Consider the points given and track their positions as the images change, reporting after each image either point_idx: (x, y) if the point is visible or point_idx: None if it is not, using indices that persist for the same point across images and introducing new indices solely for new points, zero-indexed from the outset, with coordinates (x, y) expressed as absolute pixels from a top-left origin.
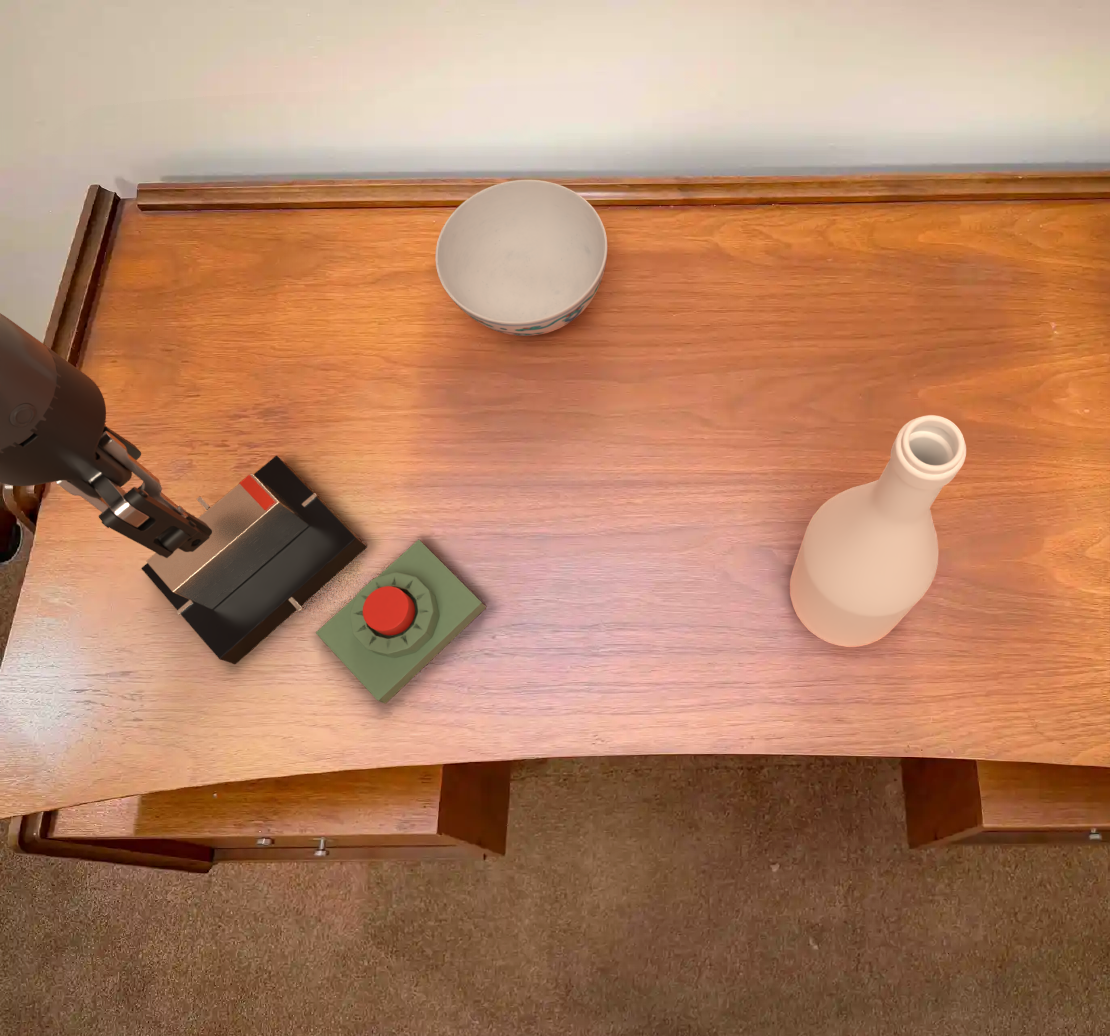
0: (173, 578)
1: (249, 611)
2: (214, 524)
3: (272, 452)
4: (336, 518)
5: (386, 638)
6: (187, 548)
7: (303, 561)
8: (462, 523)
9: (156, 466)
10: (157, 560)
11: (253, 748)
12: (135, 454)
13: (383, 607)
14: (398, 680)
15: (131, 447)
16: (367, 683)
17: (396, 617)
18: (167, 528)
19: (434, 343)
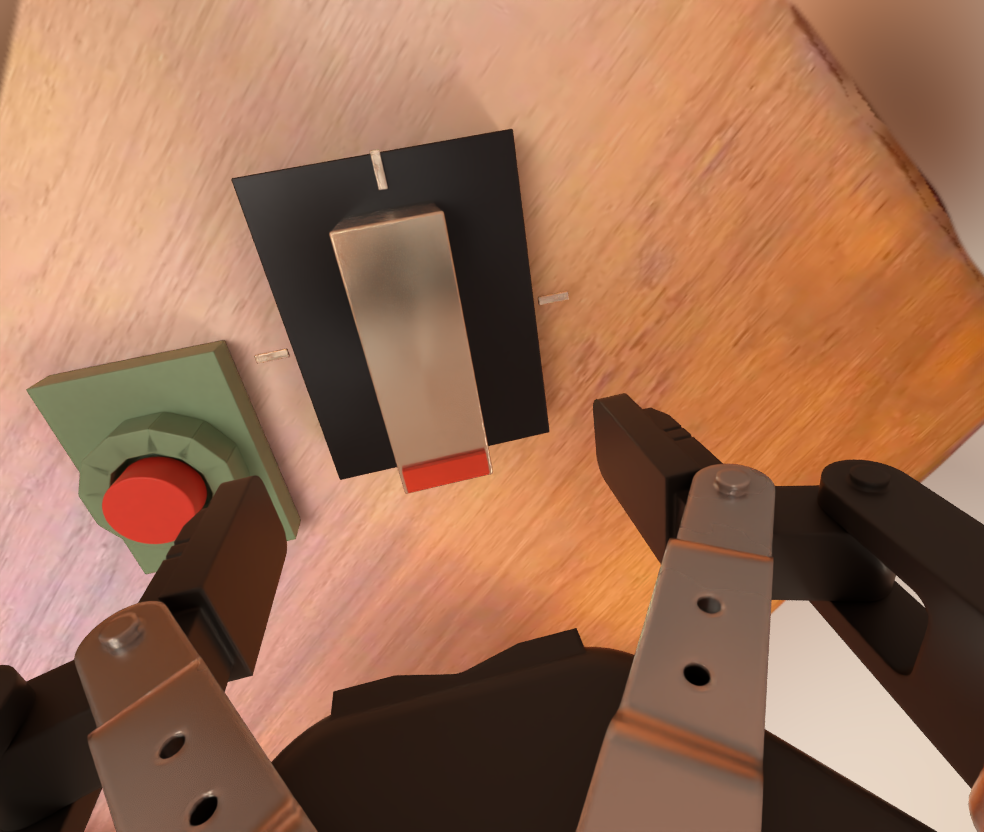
0: (363, 249)
1: (302, 278)
2: (434, 377)
3: (575, 399)
4: (390, 467)
5: (113, 471)
6: (178, 543)
7: (346, 397)
8: (306, 568)
9: (686, 231)
10: (428, 236)
11: (46, 122)
12: (603, 468)
13: (151, 510)
14: (54, 433)
15: (616, 496)
16: (70, 387)
17: (120, 521)
18: (42, 782)
19: (566, 619)
